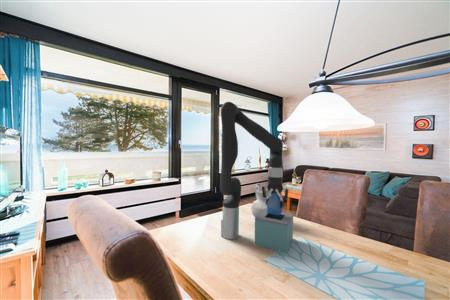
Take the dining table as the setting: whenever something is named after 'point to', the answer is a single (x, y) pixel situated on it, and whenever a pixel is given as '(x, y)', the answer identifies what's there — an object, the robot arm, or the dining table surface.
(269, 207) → the perfume bottle
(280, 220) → the box
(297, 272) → the dining table surface
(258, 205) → the ceramic pitcher
